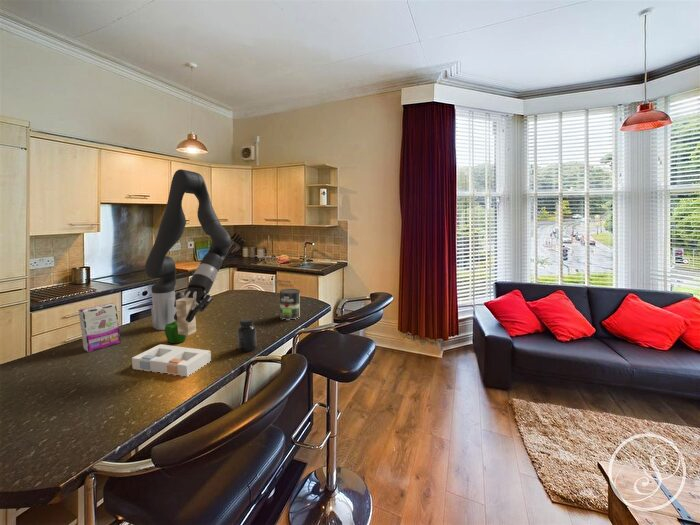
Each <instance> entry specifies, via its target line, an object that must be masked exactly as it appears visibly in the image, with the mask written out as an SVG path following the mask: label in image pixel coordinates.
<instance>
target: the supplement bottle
mask: <svg viewBox="0 0 700 525" xmlns="http://www.w3.org/2000/svg"><path fill="white" fill-rule="evenodd" d="M237 340H238V341H237V342H238V344H237V345H238V350H239V351H240V352H242V353H249V352H253V351H255V350H256V349H257V345H258V344H257V329H256V326H255V325H254V321H253V319H252V318H249V317H248V318H242V319H240V320H239V327H238V329H237Z"/></svg>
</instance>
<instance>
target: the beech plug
mask: <svg viewBox="0 0 700 525" xmlns="http://www.w3.org/2000/svg"><path fill="white" fill-rule="evenodd" d="M193 301H194V298H185V297H184V298H181V299H178V300H176V312H177V325H178V334H180V335H186V336H190V335H192V334H194V333H195V332H197V323H196V322H197V321H196V316H195V317H194V319H193V320H192V321H191V322H187V321H186V317H187V315H188V313H189V311H190V310H192V309H191V308H192V305H193Z"/></svg>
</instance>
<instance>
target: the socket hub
mask: <svg viewBox="0 0 700 525" xmlns="http://www.w3.org/2000/svg"><path fill="white" fill-rule="evenodd" d="M210 361H211V362H212V354H211V350H207V349H199V348H192V347H183V346H178V345H177V346H176V345H168V344H158V345H156V346H154V347H152V348H149V349H148V350H145V351H143V352H141V353H139V354H137V355H134V356H133V357H131V365H132V366H131V367H132V370H139V371H143V370H144V371H145V372H150V371H152V373H157V372H160V373H159V374H163V373H168V374H167V375H170V374H174V375H173V376H176V375H181V376H180V377H183V376H186V377H185V378H188V377H190V376H191V375H192V373H193V374H194V373H196V372H197V371H199V370H200V369H202V368H203V367H205V366H206V365H208V364H209V363H210ZM207 363H208V364H207ZM204 365H205V366H204ZM201 367H202V368H201ZM198 369H199V370H198ZM195 371H196V372H195ZM190 374H191V375H190ZM189 375H190V376H189Z"/></svg>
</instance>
